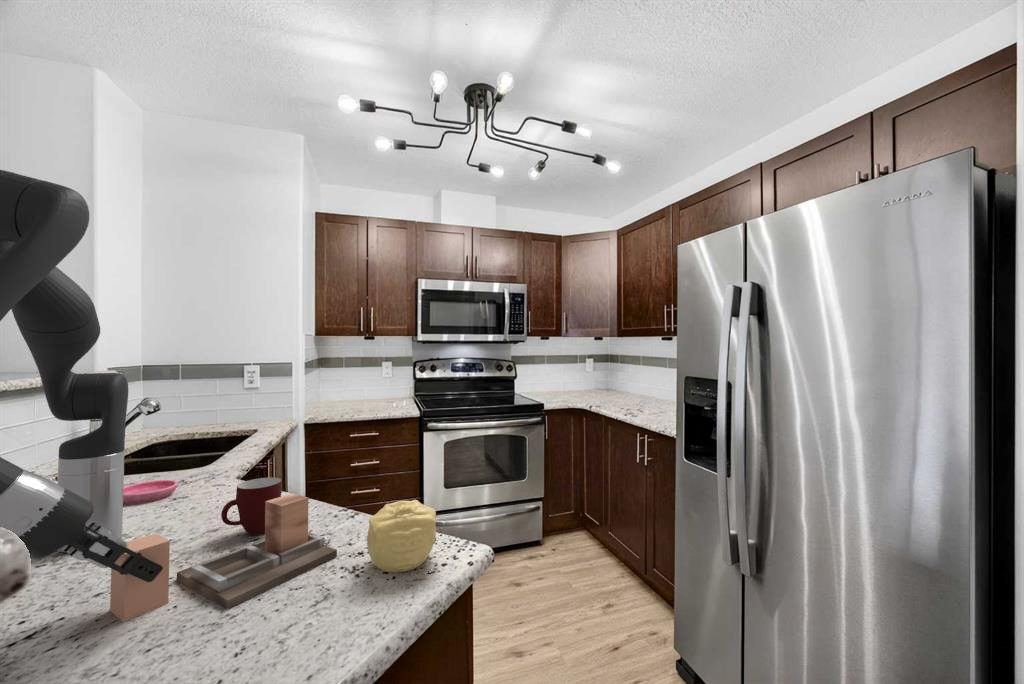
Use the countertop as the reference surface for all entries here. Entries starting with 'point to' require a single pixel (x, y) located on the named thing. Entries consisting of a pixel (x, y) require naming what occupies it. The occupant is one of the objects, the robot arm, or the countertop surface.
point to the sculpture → (401, 535)
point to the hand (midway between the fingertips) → (144, 567)
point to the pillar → (136, 593)
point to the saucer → (148, 491)
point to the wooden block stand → (262, 556)
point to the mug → (253, 503)
